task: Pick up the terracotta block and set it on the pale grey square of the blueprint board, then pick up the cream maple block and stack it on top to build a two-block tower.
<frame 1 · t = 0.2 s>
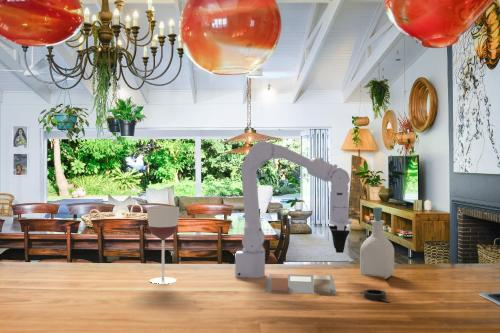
hand: (338, 250, 158), 10 cm above the counter, tool pointing down, fingers open, 7 cm apart
base block: (279, 288, 145), point 1 cm above the counter, touching board
wineglass: (163, 281, 159), on the counter
duct tape: (374, 303, 137), on the counter
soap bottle: (376, 277, 166), on the counter
top block: (321, 289, 144), point 1 cm above the counter, touching board
board: (300, 287, 152), on the counter
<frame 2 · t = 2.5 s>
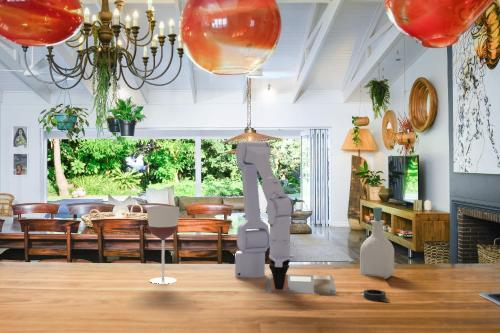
hand: (279, 286, 145), 2 cm above the counter, tool pointing down, fingers closed on base block, 5 cm apart
base block: (279, 288, 145), point 1 cm above the counter, touching board, gripper
everything else where it was.
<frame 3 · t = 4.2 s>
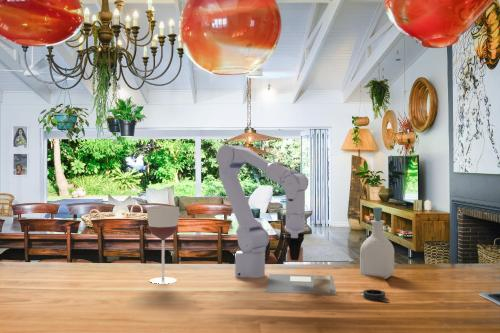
hand: (294, 258, 153), 8 cm above the counter, tool pointing down, fingers closed on base block, 5 cm apart
base block: (295, 260, 153), point 8 cm above the counter, touching gripper
everything else where it was.
when the fingers open (3 cm above the counter, at t = 6.0 s): base block stays where it is, resting on board.
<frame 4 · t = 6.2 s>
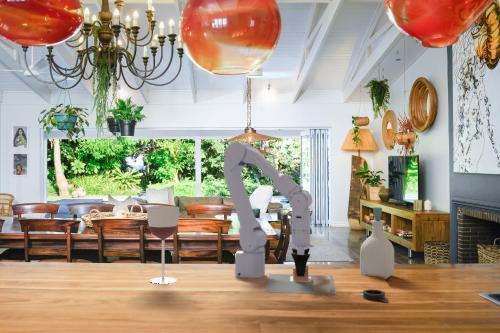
hand: (300, 273, 156), 3 cm above the counter, tool pointing down, fingers open, 6 cm apart
base block: (300, 278, 156), point 1 cm above the counter, touching board
everything else where it was.
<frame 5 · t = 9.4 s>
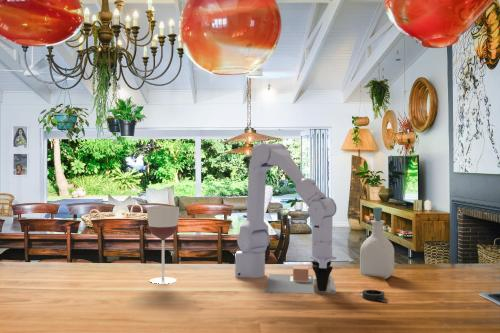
hand: (321, 288, 144), 2 cm above the counter, tool pointing down, fingers closed on top block, 5 cm apart
top block: (321, 289, 144), point 1 cm above the counter, touching board, gripper
everything else where it was.
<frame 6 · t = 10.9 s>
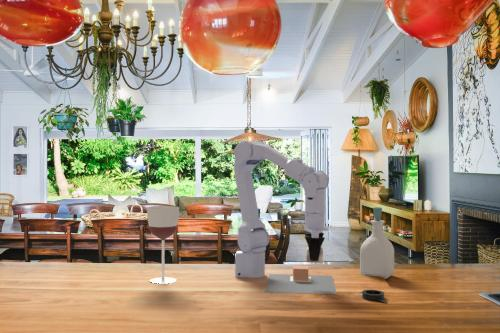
hand: (314, 258, 148), 9 cm above the counter, tool pointing down, fingers closed on top block, 5 cm apart
top block: (314, 260, 148), point 9 cm above the counter, touching gripper
everything else where it was.
when the fingers open (6 cm above the counter, at t = 12.7 s): top block stays where it is, resting on base block.
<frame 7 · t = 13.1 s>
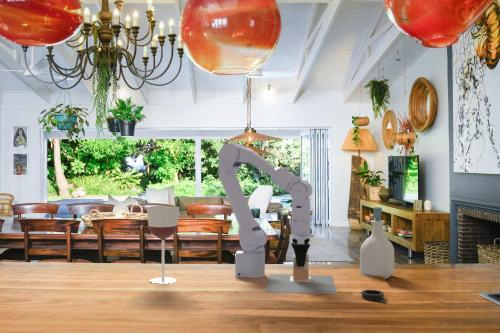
hand: (300, 263, 156), 6 cm above the counter, tool pointing down, fingers open, 7 cm apart
base block: (300, 278, 156), point 1 cm above the counter, touching board, top block
top block: (300, 267, 156), point 5 cm above the counter, touching base block
everything else where it was.
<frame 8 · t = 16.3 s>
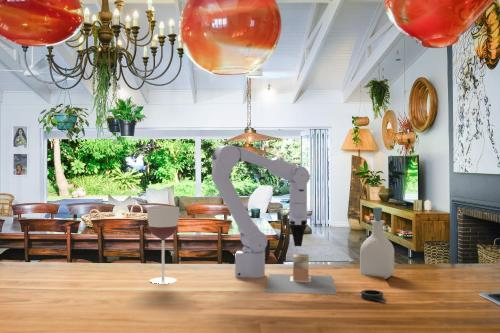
hand: (298, 244, 166), 10 cm above the counter, tool pointing down, fingers open, 7 cm apart
nothing on the counter moved.
at the end: base block 0.1 cm from the target spot on the board, point 1.3 cm above the board's base; top block 0.0 cm off-centre on the base block, point 3.6 cm above the base block's base; top block tilted 0° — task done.
